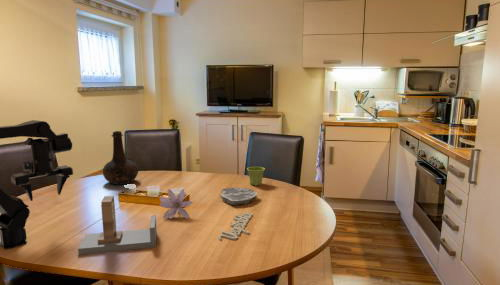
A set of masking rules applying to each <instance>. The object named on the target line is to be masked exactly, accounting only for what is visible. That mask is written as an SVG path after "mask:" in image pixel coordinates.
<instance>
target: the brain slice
mask: <svg viewBox="0 0 500 285" xmlns="http://www.w3.org/2000/svg"><path fill="white" fill-rule="evenodd" d="M257 196H258V192H257V191H254V189H252V188H248V187H247V188H245V187H244V188H243V187H226V188H222V189H221V194H220V197H221V200H222V201H223V202H224V203H226V202H227V204H228V205H230V206H238V205H247V204H249V203H250V202H251V201H252V200H253V199H255V198H256V197H257Z"/></svg>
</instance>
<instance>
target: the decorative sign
mask: <svg viewBox="0 0 500 285" xmlns="http://www.w3.org/2000/svg"><path fill="white" fill-rule="evenodd" d="M252 216H253V213H251V212H247V213H246V212H245V211H244V212H242V214H241V215H240V214H235V217H233V221H232V222H230V228H231V229H230V231H229V232H228V231H225V230H224V229H223V230H221V234H218V238H217V239H218V240H219V241H220V242H221V241H222V240H223V239H222V238H224V239H228V240H234V241H235V240H238V237H240V236H241V234H242V233H243V234H244V235H249V234H250V231H248V230H247V229H245V228H246V226H247V224H248V222H249V221H250V220H251V218H252ZM235 221H236V222H235Z"/></svg>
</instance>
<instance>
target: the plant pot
mask: <svg viewBox="0 0 500 285" xmlns="http://www.w3.org/2000/svg"><path fill="white" fill-rule="evenodd" d="M246 170H247V173H248V177H249V184H250V186H254V185H255V187H256V186H257V185H259V186H261V185H262V182H263V176H264V171H265V170H266V168H265V167H262V166H250V167H247V168H246ZM257 187H258V186H257Z"/></svg>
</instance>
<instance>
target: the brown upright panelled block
mask: <svg viewBox="0 0 500 285" xmlns="http://www.w3.org/2000/svg"><path fill="white" fill-rule="evenodd" d="M100 204H101V205H100V207H101V219H102V220H101V221H102V232H100V233H101V234H100V236H99V238H98V243H109V242H120V241H121V237H122V231H123V230H117V219H116V218H117V217H116V202H115V197H114V195H104V197H103V198H102V200H101V202H100Z"/></svg>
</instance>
